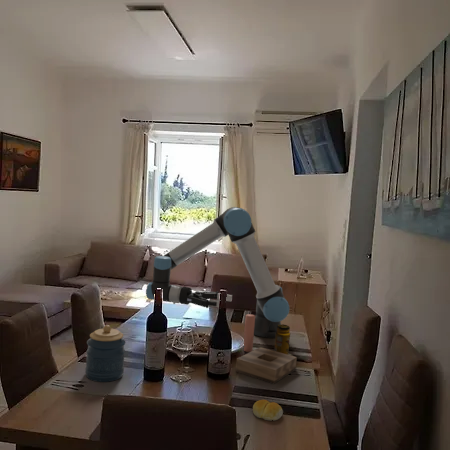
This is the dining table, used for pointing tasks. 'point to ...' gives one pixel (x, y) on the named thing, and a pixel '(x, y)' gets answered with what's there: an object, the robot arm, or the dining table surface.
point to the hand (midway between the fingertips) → (228, 301)
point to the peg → (249, 332)
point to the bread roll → (267, 410)
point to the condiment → (282, 339)
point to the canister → (105, 355)
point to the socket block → (266, 364)
